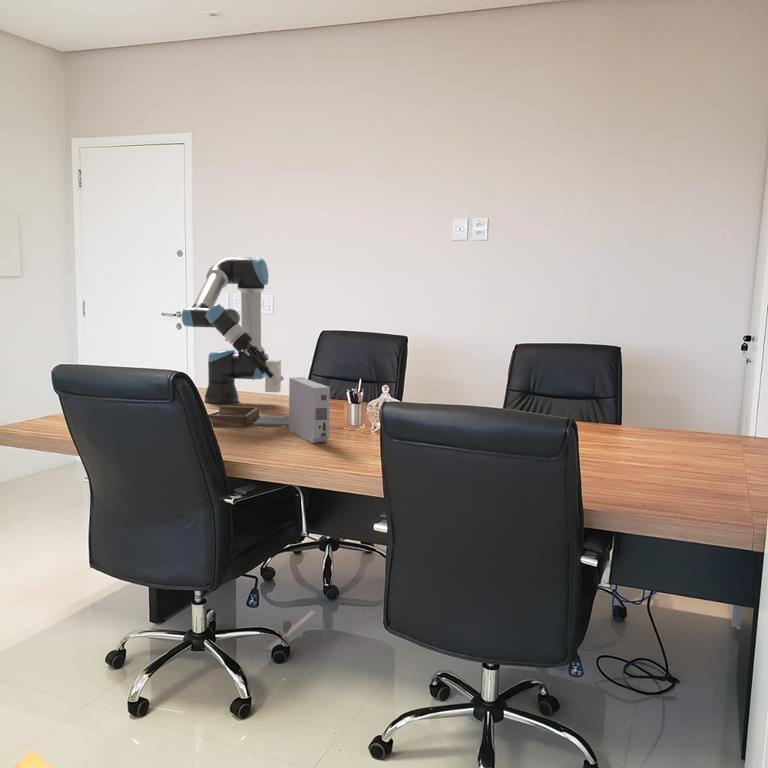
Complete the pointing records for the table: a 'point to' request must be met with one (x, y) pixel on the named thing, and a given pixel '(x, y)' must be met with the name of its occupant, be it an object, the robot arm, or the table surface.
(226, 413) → the brown wooden tray
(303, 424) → the game console
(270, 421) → the mat
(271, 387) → the cream block
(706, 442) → the table surface
